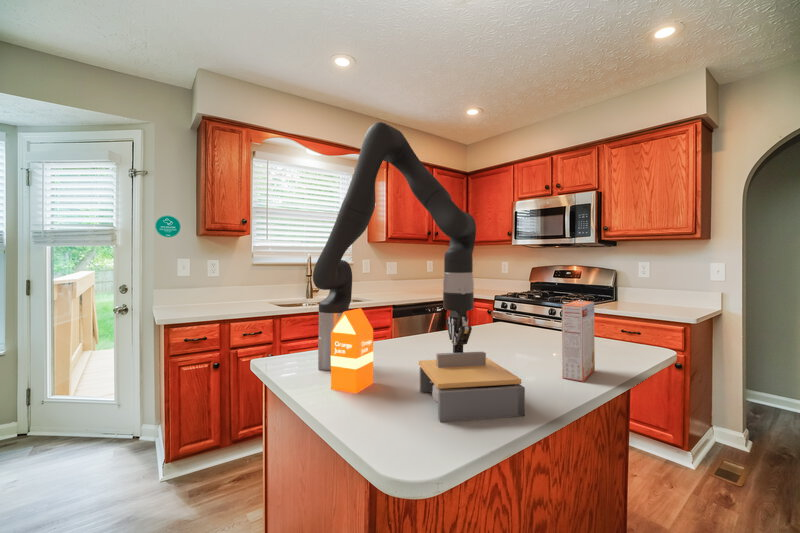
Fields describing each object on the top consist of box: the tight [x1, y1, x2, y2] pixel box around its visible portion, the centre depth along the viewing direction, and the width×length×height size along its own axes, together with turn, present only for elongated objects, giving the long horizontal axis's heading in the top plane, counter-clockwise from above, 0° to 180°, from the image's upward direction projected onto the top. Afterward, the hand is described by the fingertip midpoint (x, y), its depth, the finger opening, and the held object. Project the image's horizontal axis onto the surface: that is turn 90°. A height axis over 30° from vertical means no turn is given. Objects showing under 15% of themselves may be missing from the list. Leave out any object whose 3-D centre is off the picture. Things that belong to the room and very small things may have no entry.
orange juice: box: [330, 308, 374, 394], centre depth 97 cm, size 8×9×20 cm
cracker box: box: [561, 300, 596, 383], centre depth 107 cm, size 14×6×21 cm, turn 141°
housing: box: [419, 366, 526, 423], centre depth 85 cm, size 18×18×6 cm
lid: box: [418, 351, 522, 389], centre depth 87 cm, size 18×18×4 cm
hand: (458, 359), depth 92 cm, fingers closed
